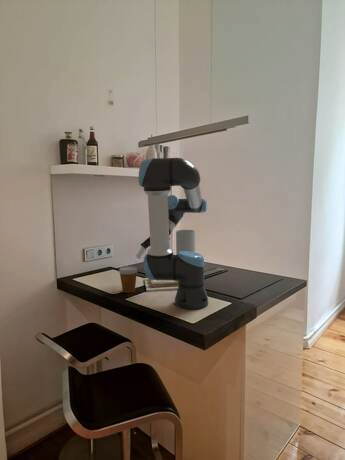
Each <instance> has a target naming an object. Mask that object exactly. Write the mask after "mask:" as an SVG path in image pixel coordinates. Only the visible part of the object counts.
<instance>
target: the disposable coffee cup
mask: <svg viewBox="0 0 345 460" xmlns="http://www.w3.org/2000/svg"><path fill="white" fill-rule="evenodd" d="M137 268H138V267H136V266H132V265H131V266H130V265H129V266H127V265H126V266H121V267H120V268H119V270H118V272H119V276H120V281H121V288H122V292H123V293H127V294H129V293H130V294H131V293H135V292H136V286H137V285H136V282H137V273H138V269H137Z"/></svg>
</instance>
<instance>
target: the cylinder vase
mask: <svg viewBox="0 0 345 460" xmlns="http://www.w3.org/2000/svg"><path fill="white" fill-rule="evenodd" d="M175 251H176V252H175V255H178V252H180V251H190V252H195V253H196V230H192V229H179V230H176V231H175Z"/></svg>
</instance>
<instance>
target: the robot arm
mask: <svg viewBox="0 0 345 460" xmlns="http://www.w3.org/2000/svg"><path fill="white" fill-rule="evenodd" d="M200 183H201V175H200V172H199V171H198V168H197V167H196V166H195V165H194V164H193V163H191V162H190V161H188V160H187V159H184V158H181V157H158V158H155V157H154V158H153V157H152V158H145V159H143V160H142V161H141V163H140V166H139V170H138V185H139V186H140V187H142V188H143V192H144V193H145V194H146V195H147V206H148V222H149V223H148V224H149V225H148V226H149V237H147V238H146V239H145V240H144V241H143V242H142V243H140V246H141V247H140V249H139V250H138V252H137V254H136V255H135V257H136V258H138V259H139V260H140V259H141V258H142V256H143V254H145V251H147V252H146V254H145V255H144V257H143V270H144V273H145V276H146V278H149V279H151V280H157V281H158V280H168V281H178V290H176V292H175V293H176V294H175V297H174V305H175V306H176V307H178V308H180V309H185V310H199V309H203V308H205V307H208V305H209V297H208V294H207V291H206V288H205V258H204V256H203V255H202V254H201V253H198V252H196V251H195V252H190V251H180V252H178V255H176V254H174V249H172V248H171V247H170V240H171V238H170V235H172V233H173V231H174V230H175V228H176V227H177V225H178V224H179V222H180V221H181V220H182V218H183V217H184V216H185V213H186V214H187V213H188V214H189V213H190V214H191V213H193V214H194V213H195V214H197V213H198V214H200V213H206V212H207V207H208V206H207V199H206V198H203V197H202V193H201V188H200ZM175 186H176V187H181V188H182V189H183V193H184V194H185V198H179V197H178V196H177V195H174V194H170V195H168V194H169V193H170V192H171V190H172V187H175ZM149 247H150V248H149ZM147 248H149V249H148V250H147Z"/></svg>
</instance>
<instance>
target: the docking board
mask: <svg viewBox="0 0 345 460" xmlns="http://www.w3.org/2000/svg"><path fill="white" fill-rule="evenodd" d="M143 280H144V284H145V292H146V293H147V292H149V293H150V292H163V291H165V292H166V291H177V290H178V281H168V280H158V281H157V280H151V279H149V278H148V277H144V279H143Z"/></svg>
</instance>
